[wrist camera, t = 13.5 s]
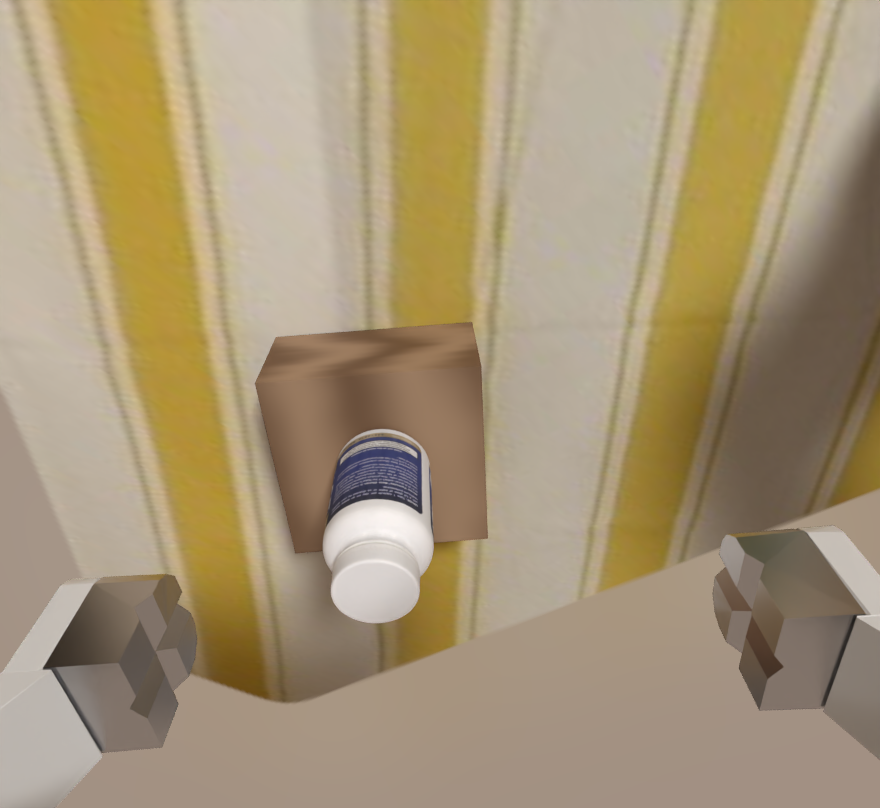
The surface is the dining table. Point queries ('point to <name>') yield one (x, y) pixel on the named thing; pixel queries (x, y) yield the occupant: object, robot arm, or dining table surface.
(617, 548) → the dining table surface
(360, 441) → the pill bottle
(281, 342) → the walnut riser
